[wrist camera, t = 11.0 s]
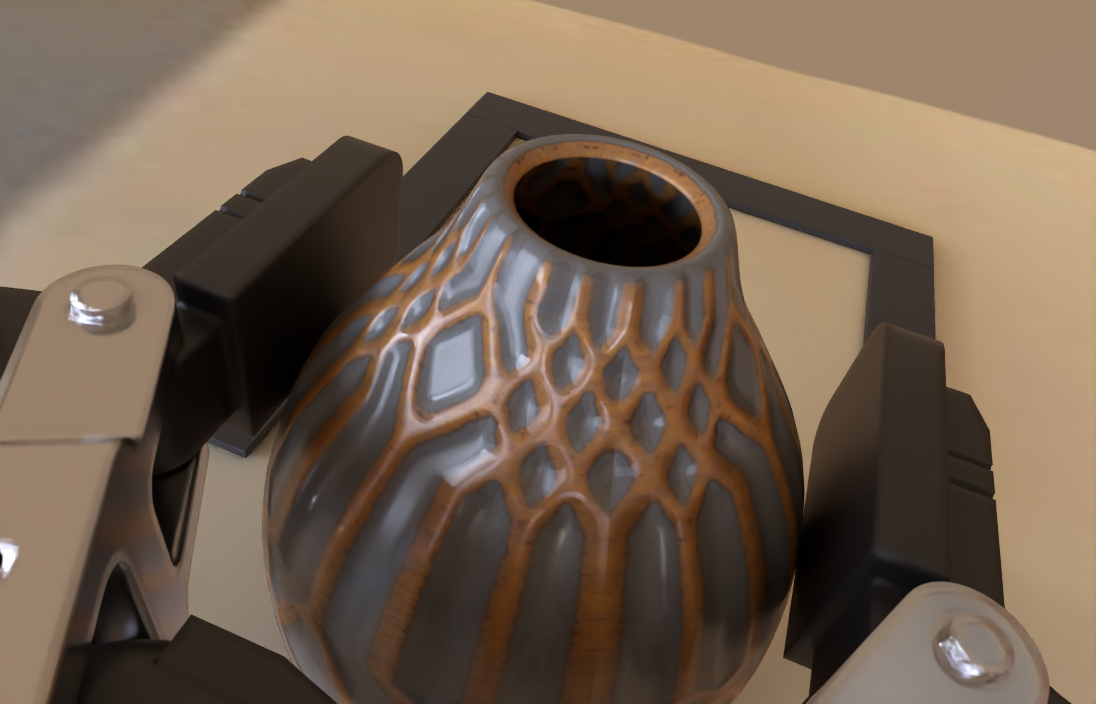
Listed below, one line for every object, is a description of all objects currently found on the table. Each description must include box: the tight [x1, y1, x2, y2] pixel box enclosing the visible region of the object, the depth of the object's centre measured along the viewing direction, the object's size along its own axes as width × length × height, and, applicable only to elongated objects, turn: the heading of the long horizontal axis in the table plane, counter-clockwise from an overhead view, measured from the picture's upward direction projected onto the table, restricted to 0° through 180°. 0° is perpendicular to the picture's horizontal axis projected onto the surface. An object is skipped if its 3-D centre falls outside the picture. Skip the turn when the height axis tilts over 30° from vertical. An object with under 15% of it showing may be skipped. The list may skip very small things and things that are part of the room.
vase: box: [262, 134, 804, 704], centre depth 10 cm, size 7×7×9 cm
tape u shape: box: [207, 92, 935, 458], centre depth 20 cm, size 15×16×1 cm
